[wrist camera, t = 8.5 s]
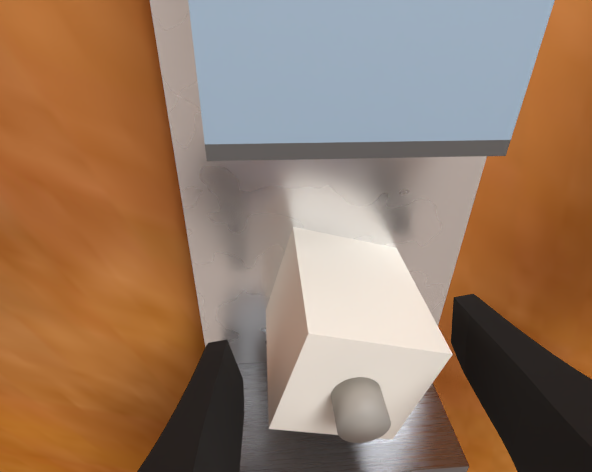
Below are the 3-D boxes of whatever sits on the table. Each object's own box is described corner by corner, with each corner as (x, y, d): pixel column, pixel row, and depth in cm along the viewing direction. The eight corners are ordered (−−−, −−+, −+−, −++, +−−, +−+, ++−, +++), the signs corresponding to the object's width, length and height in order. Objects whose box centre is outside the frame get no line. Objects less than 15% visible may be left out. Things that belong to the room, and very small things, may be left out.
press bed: (570, -268, 9) (1060, -667, 3) (411, 356, 20) (468, 493, 15) (118, -300, 8) (-161, -870, 3) (215, 367, 19) (199, 516, 14)
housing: (396, 247, 15) (469, 386, 10) (358, 324, 17) (402, 472, 11) (292, 226, 14) (313, 367, 9) (265, 310, 16) (269, 463, 11)
